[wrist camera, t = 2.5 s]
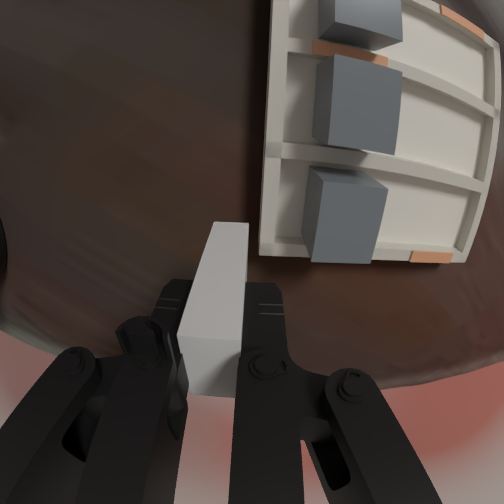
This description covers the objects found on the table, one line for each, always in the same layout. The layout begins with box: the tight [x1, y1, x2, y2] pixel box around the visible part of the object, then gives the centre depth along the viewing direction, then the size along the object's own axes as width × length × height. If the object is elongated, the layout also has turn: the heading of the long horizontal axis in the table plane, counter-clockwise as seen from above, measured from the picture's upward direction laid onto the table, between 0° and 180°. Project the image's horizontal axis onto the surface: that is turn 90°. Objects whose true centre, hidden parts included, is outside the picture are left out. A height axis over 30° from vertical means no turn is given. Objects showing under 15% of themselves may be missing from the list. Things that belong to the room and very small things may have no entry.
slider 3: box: [301, 166, 388, 264], centre depth 17 cm, size 4×5×4 cm
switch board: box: [258, 0, 501, 263], centre depth 15 cm, size 20×22×3 cm
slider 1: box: [318, 0, 403, 51], centre depth 10 cm, size 4×5×4 cm
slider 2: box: [312, 54, 403, 155], centre depth 13 cm, size 4×5×4 cm
